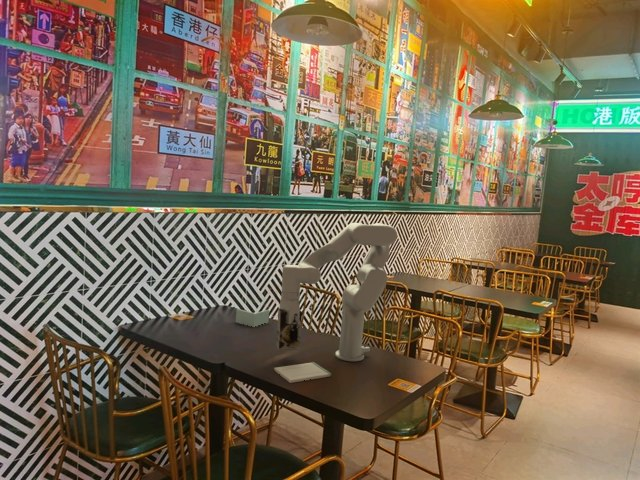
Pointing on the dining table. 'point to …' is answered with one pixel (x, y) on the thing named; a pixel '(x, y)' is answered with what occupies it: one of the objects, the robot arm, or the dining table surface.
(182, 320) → the dining table surface
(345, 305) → the robot arm
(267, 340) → the dining table surface
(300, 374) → the notepad
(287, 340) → the coffee box
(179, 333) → the dining table surface
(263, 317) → the l-shaped corner panel
